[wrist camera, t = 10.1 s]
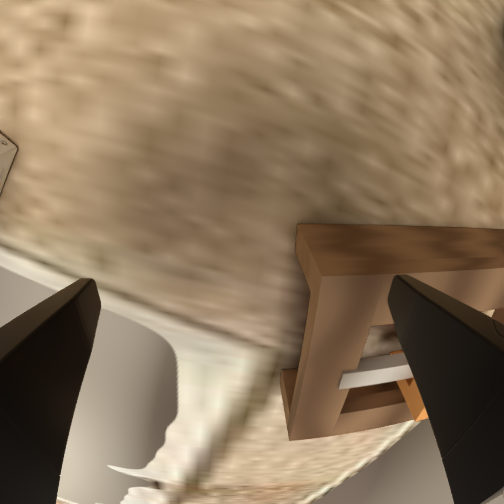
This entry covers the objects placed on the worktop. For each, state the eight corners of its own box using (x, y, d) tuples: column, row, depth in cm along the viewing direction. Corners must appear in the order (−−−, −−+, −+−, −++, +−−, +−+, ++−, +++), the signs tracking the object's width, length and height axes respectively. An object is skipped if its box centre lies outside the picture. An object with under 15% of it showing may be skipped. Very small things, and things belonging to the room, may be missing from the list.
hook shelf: (504, 229, 23) (551, 266, 17) (451, 359, 30) (477, 402, 24) (297, 224, 21) (323, 279, 15) (279, 383, 29) (289, 443, 23)
